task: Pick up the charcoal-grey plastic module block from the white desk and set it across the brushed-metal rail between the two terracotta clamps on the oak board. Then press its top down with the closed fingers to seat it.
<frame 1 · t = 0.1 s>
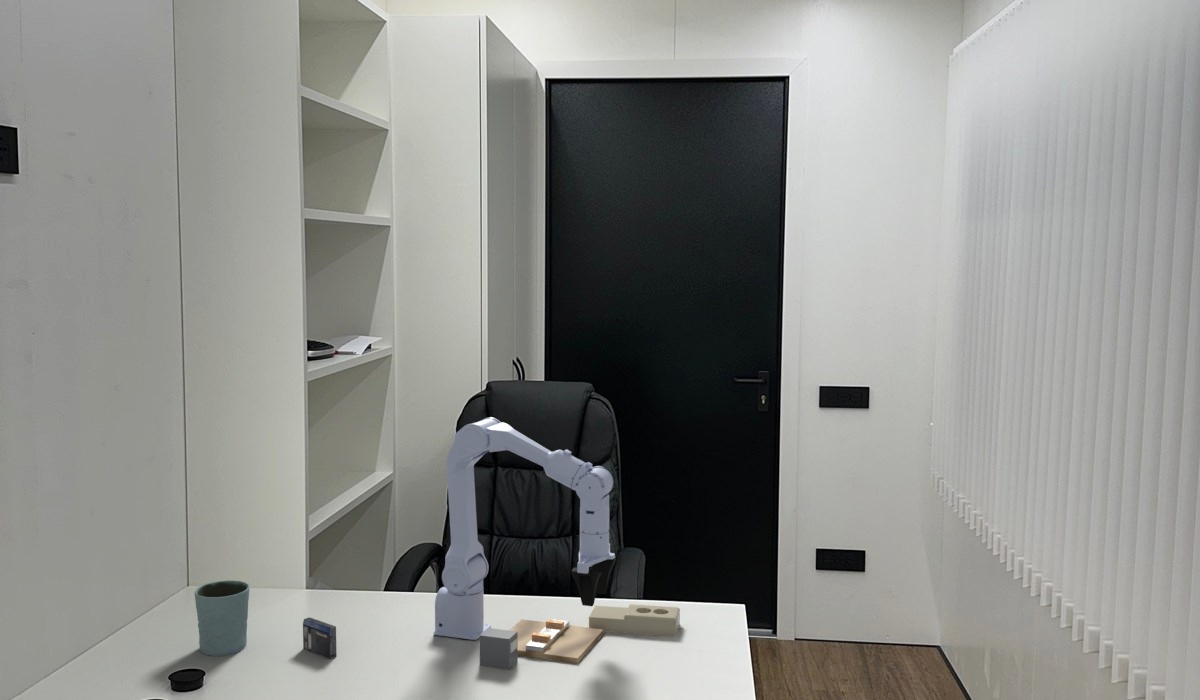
hand: (594, 599, 199), 10 cm above the table, fingers open, 7 cm apart
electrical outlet: (634, 629, 212), on the table
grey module: (498, 664, 193), on the table
din rail: (548, 632, 203), on the mounting board, point 1 cm above the table
mini dv tape: (319, 654, 198), on the table
teal cup: (224, 649, 200), on the table
mounting board: (548, 642, 203), on the table
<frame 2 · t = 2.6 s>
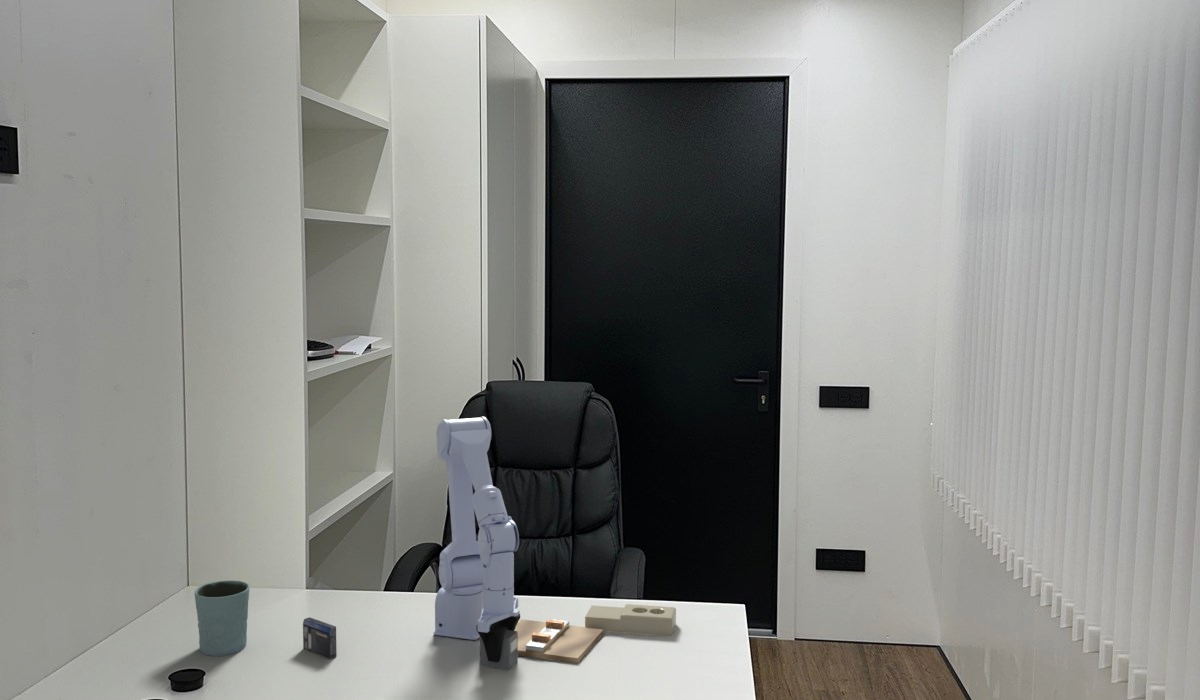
hand: (498, 656, 192), 1 cm above the table, fingers closed on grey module, 4 cm apart
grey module: (498, 663, 193), on the table, touching gripper
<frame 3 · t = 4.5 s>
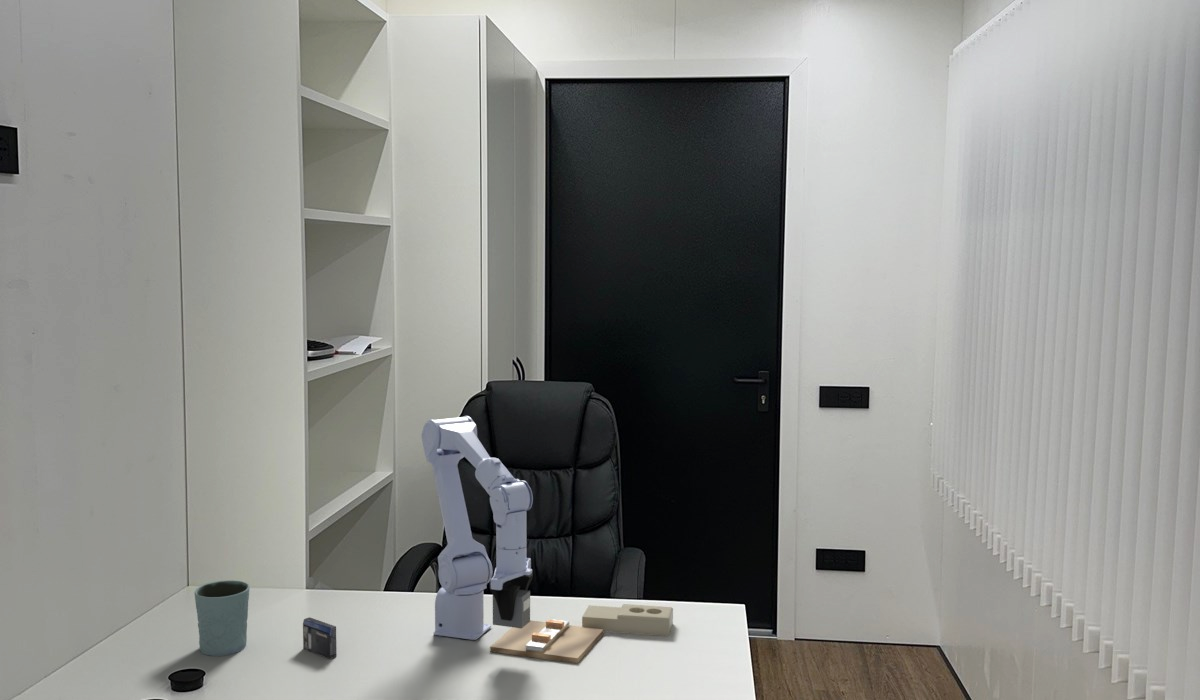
hand: (511, 615, 195), 8 cm above the table, fingers closed on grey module, 4 cm apart
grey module: (511, 623, 195), point 7 cm above the table, touching gripper
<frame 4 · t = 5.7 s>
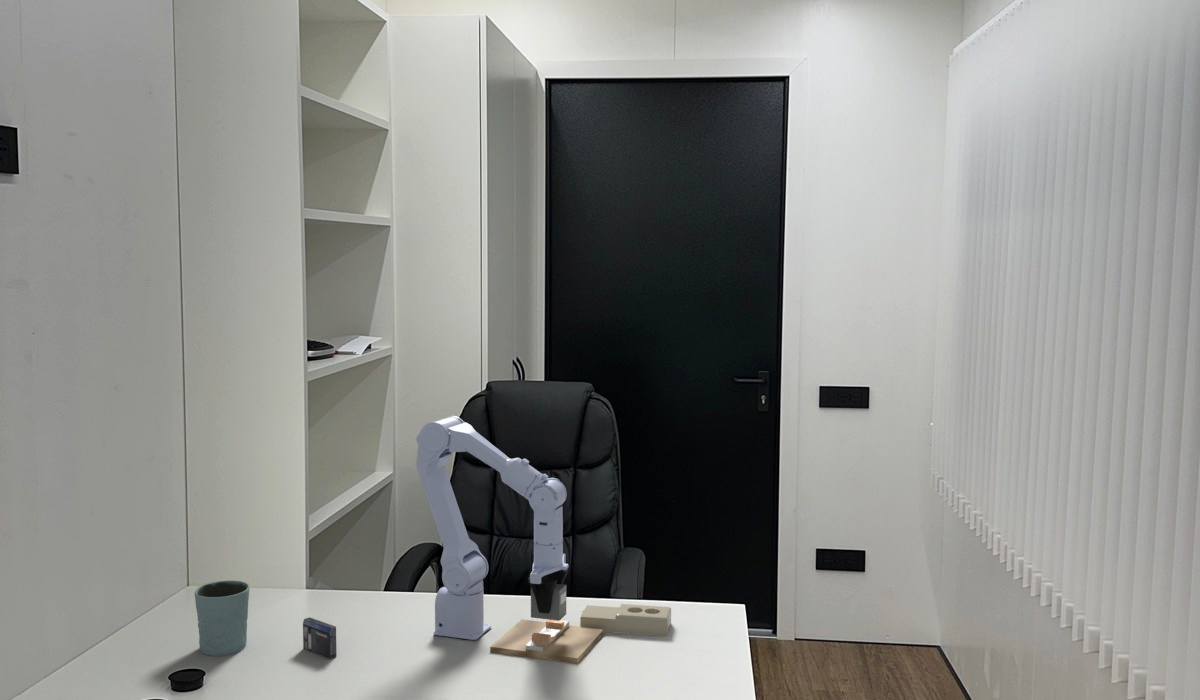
hand: (548, 608, 203), 7 cm above the table, fingers closed on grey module, 4 cm apart
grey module: (548, 615, 203), point 5 cm above the table, touching gripper
when the fingers open (4 cm above the table, at t = 6.7 s): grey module stays where it is, resting on din rail.
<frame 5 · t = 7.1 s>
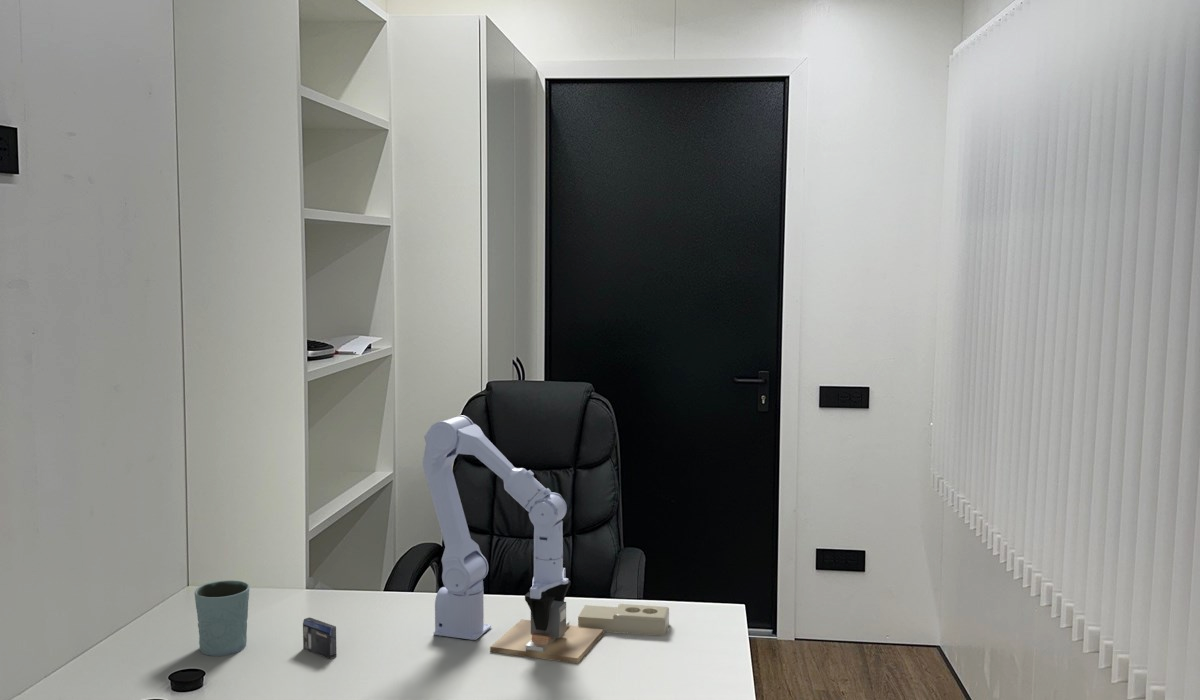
hand: (548, 623, 203), 4 cm above the table, fingers open, 7 cm apart
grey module: (548, 632, 203), point 2 cm above the table, touching din rail
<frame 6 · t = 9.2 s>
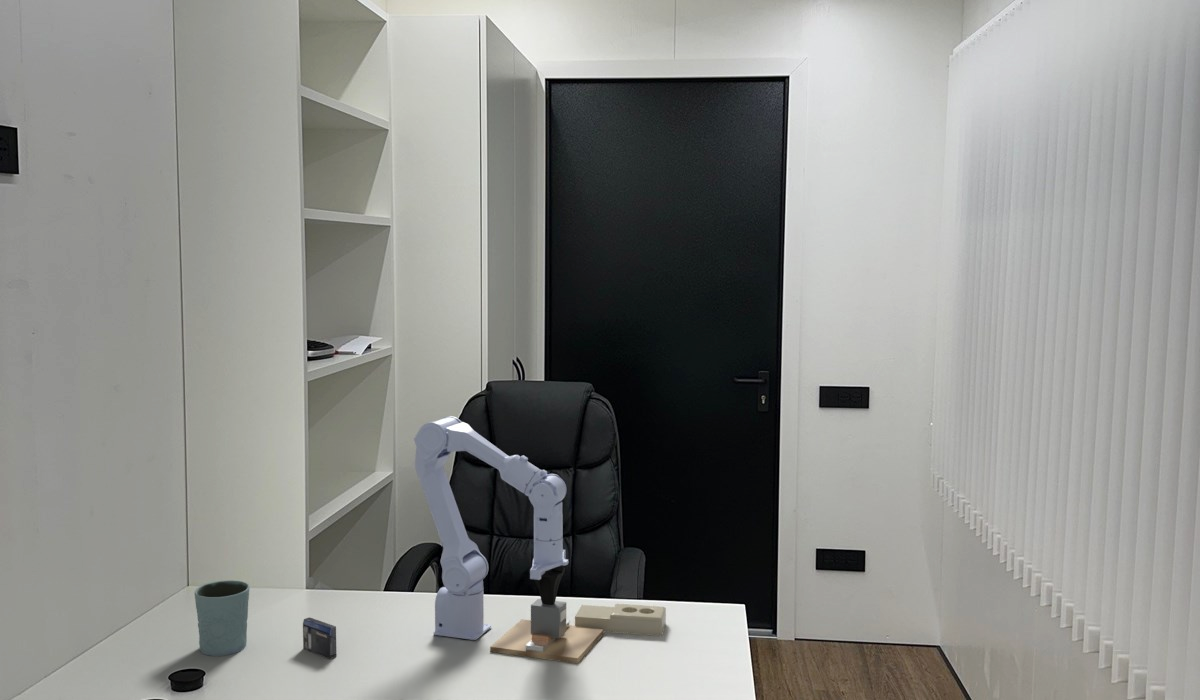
hand: (548, 604, 203), 8 cm above the table, fingers closed, pressing on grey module
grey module: (548, 633, 203), point 2 cm above the table, touching din rail, gripper
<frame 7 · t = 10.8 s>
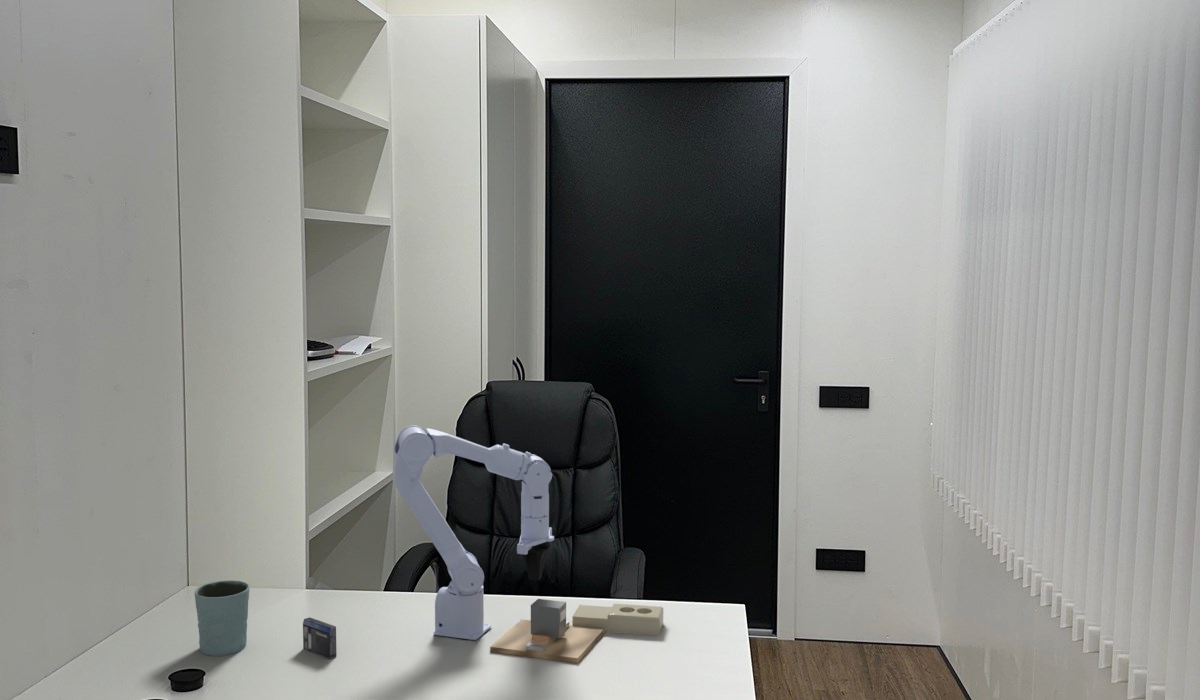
hand: (535, 579, 212), 10 cm above the table, fingers closed
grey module: (548, 632, 203), point 2 cm above the table, touching din rail
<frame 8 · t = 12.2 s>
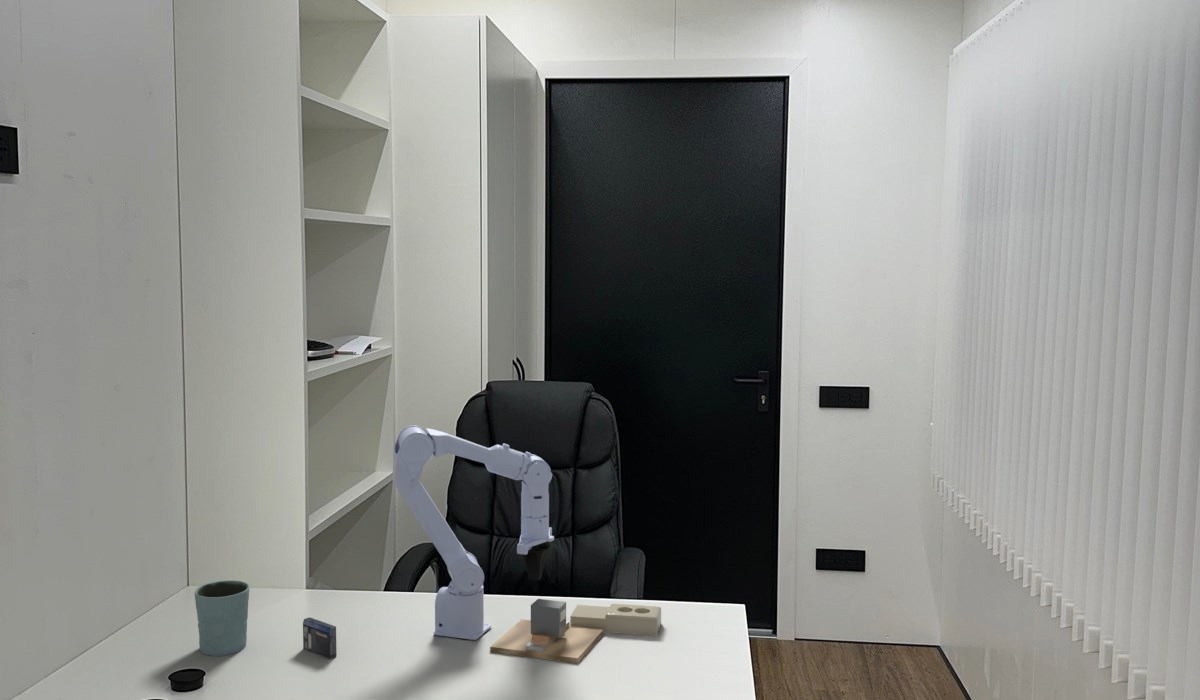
hand: (535, 579, 212), 10 cm above the table, fingers closed
at the end: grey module 0.1 cm off-centre on the din rail, point 2.0 cm above the din rail's base; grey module tilted 0°; the gripper is holding nothing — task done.
